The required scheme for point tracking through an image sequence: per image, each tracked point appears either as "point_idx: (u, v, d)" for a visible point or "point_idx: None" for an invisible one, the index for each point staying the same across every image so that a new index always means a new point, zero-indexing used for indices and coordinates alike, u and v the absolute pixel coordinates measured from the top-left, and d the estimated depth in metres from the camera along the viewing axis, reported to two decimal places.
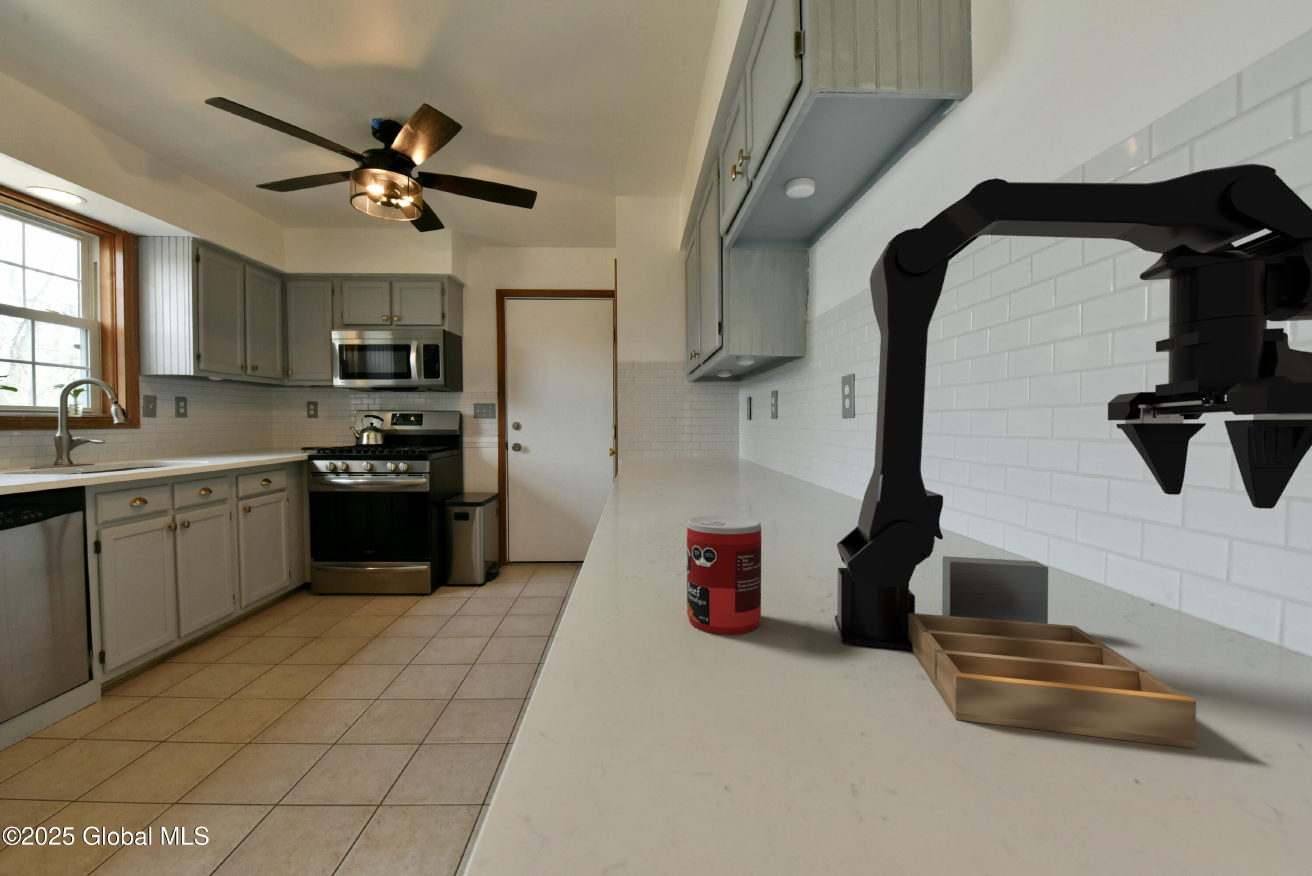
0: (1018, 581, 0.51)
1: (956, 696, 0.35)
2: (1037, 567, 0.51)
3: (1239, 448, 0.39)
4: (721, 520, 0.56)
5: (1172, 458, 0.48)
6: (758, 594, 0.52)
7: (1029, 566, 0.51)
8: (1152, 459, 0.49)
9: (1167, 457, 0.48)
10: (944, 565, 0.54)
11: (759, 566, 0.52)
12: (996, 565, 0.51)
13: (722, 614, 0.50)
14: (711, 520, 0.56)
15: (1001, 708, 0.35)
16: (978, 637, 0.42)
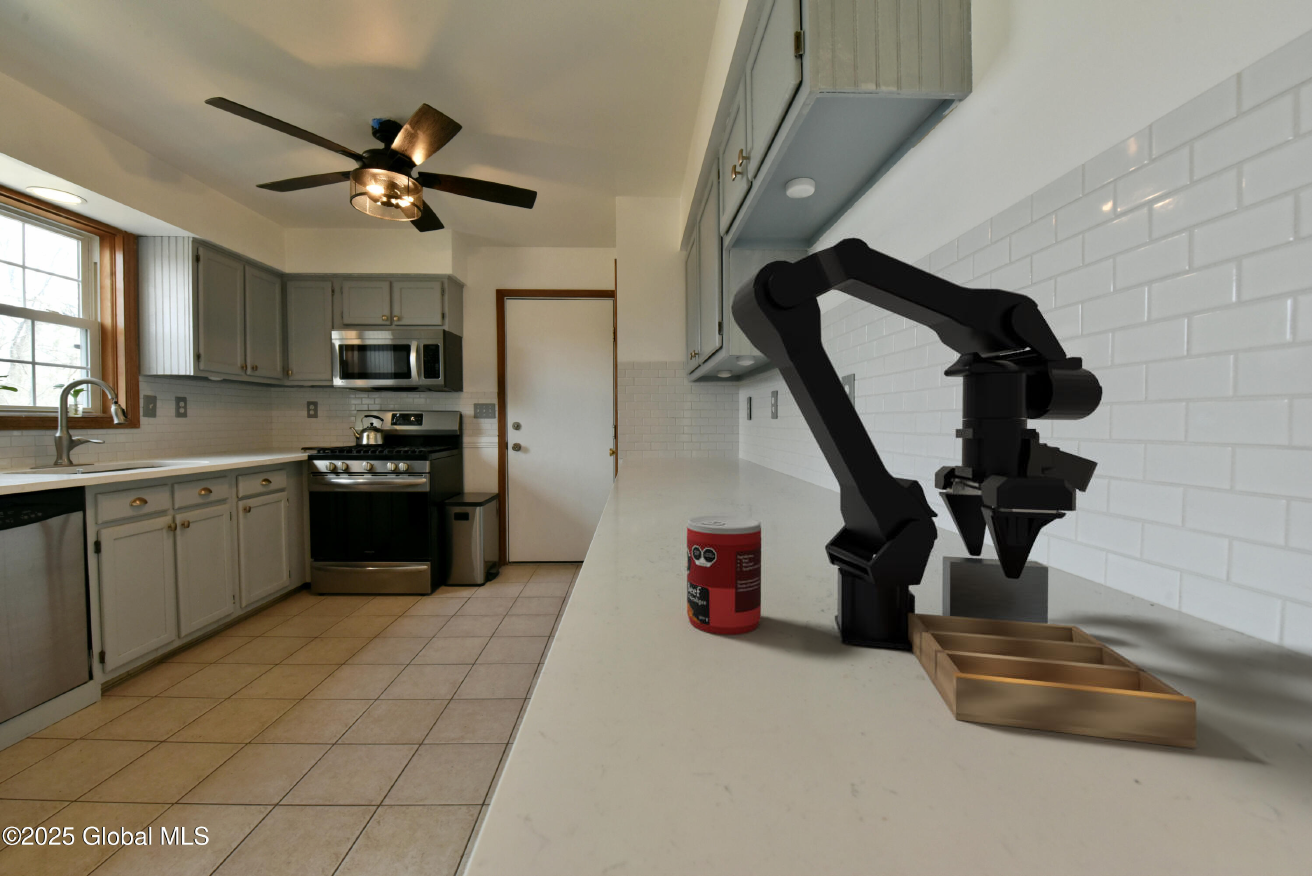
0: (1018, 581, 0.51)
1: (956, 696, 0.35)
2: (1037, 567, 0.51)
3: (990, 530, 0.48)
4: (721, 520, 0.56)
5: (975, 525, 0.57)
6: (758, 594, 0.52)
7: (1029, 567, 0.51)
8: (959, 525, 0.57)
9: (972, 523, 0.57)
10: (944, 565, 0.54)
11: (759, 566, 0.52)
12: (996, 565, 0.51)
13: (722, 614, 0.50)
14: (711, 520, 0.56)
15: (1001, 708, 0.35)
16: (978, 637, 0.42)
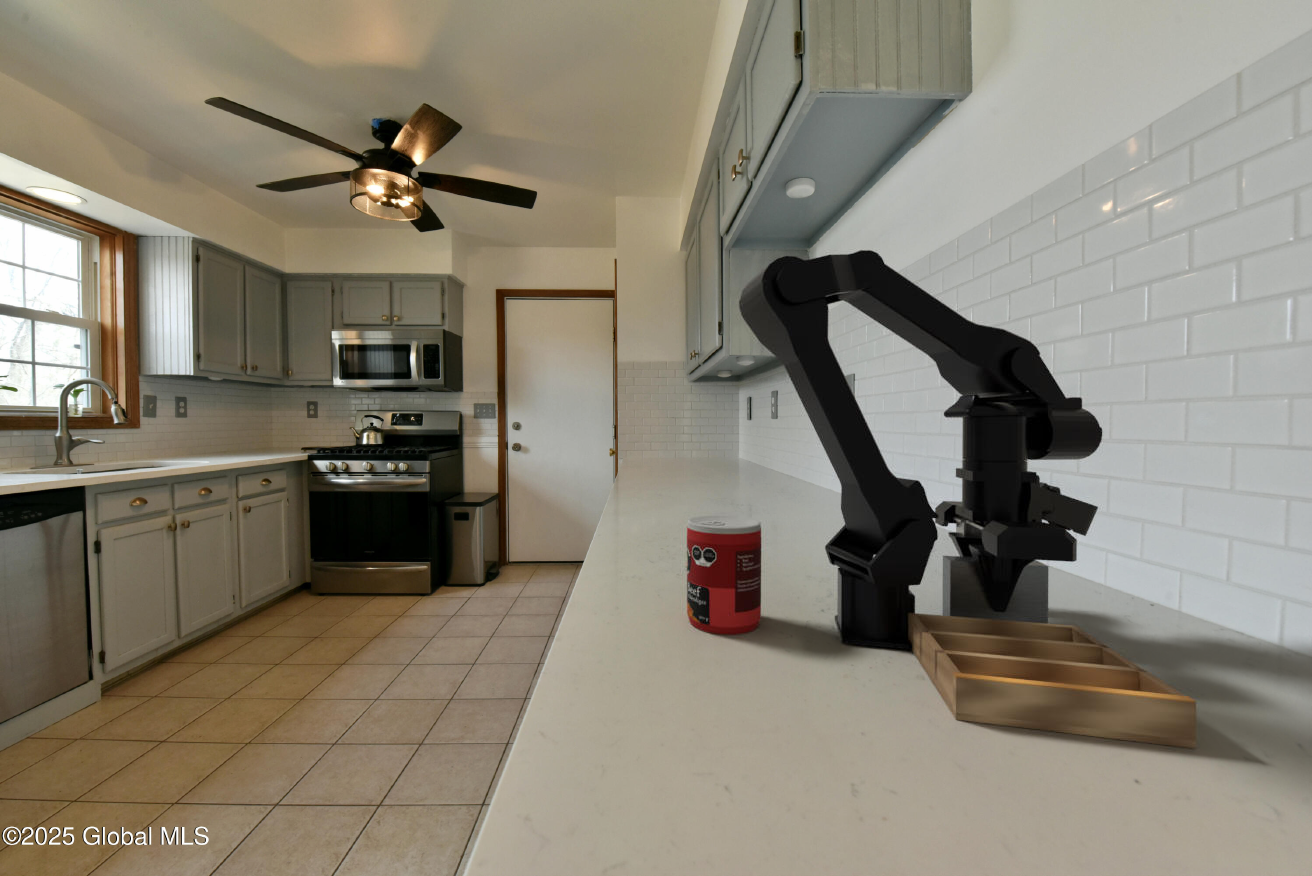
0: (1018, 580, 0.51)
1: (956, 696, 0.35)
2: (1037, 566, 0.51)
3: (978, 566, 0.51)
4: (721, 520, 0.56)
5: None
6: (758, 594, 0.52)
7: (1029, 566, 0.51)
8: None
9: None
10: (944, 565, 0.54)
11: (759, 566, 0.52)
12: None
13: (722, 614, 0.50)
14: (711, 520, 0.56)
15: (1001, 708, 0.35)
16: (978, 637, 0.42)
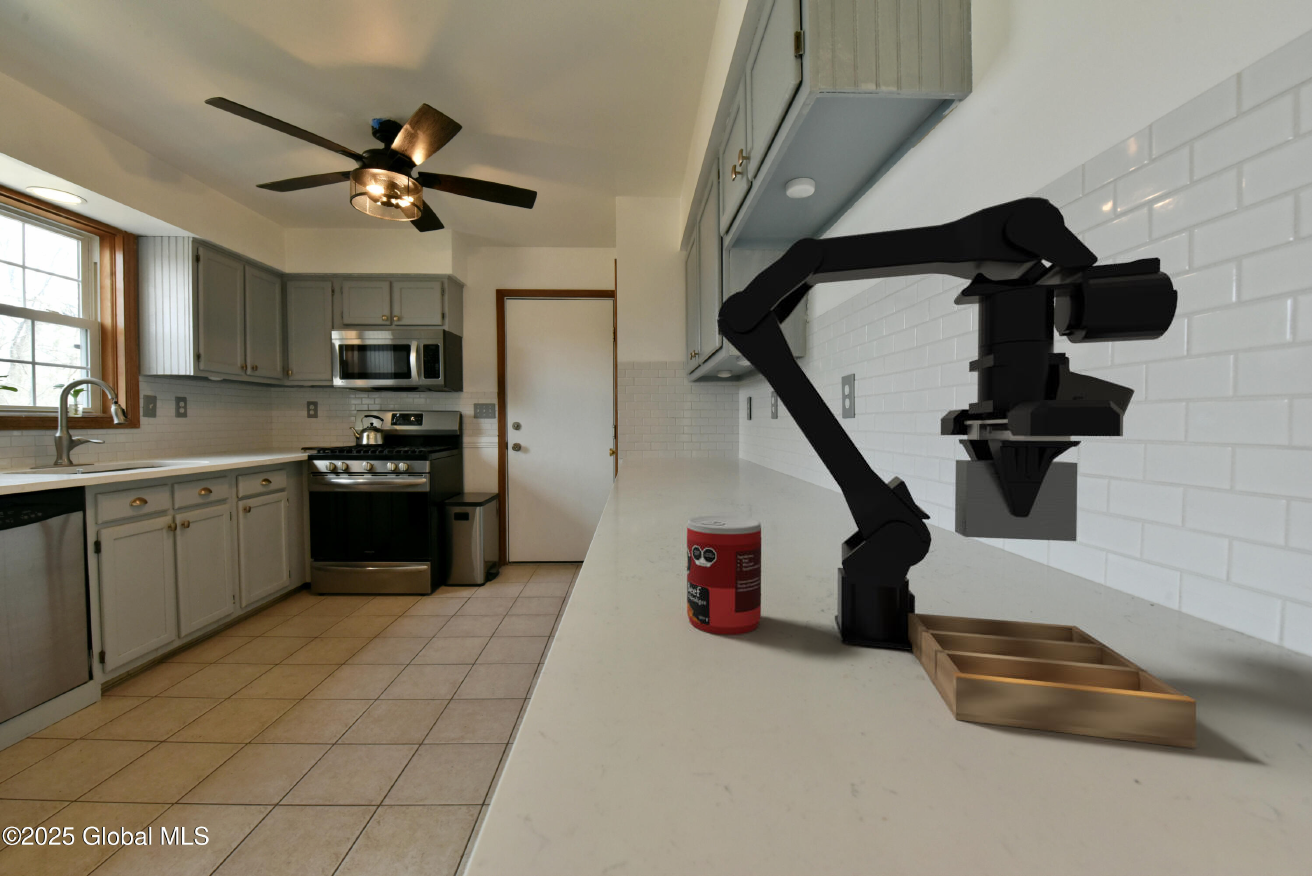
0: (1043, 480, 0.44)
1: (956, 696, 0.35)
2: (1065, 463, 0.44)
3: (998, 464, 0.44)
4: (721, 520, 0.56)
5: None
6: (758, 594, 0.52)
7: (1055, 463, 0.44)
8: None
9: None
10: (958, 469, 0.47)
11: (759, 566, 0.52)
12: None
13: (722, 614, 0.50)
14: (711, 520, 0.56)
15: (1001, 708, 0.35)
16: (978, 637, 0.42)
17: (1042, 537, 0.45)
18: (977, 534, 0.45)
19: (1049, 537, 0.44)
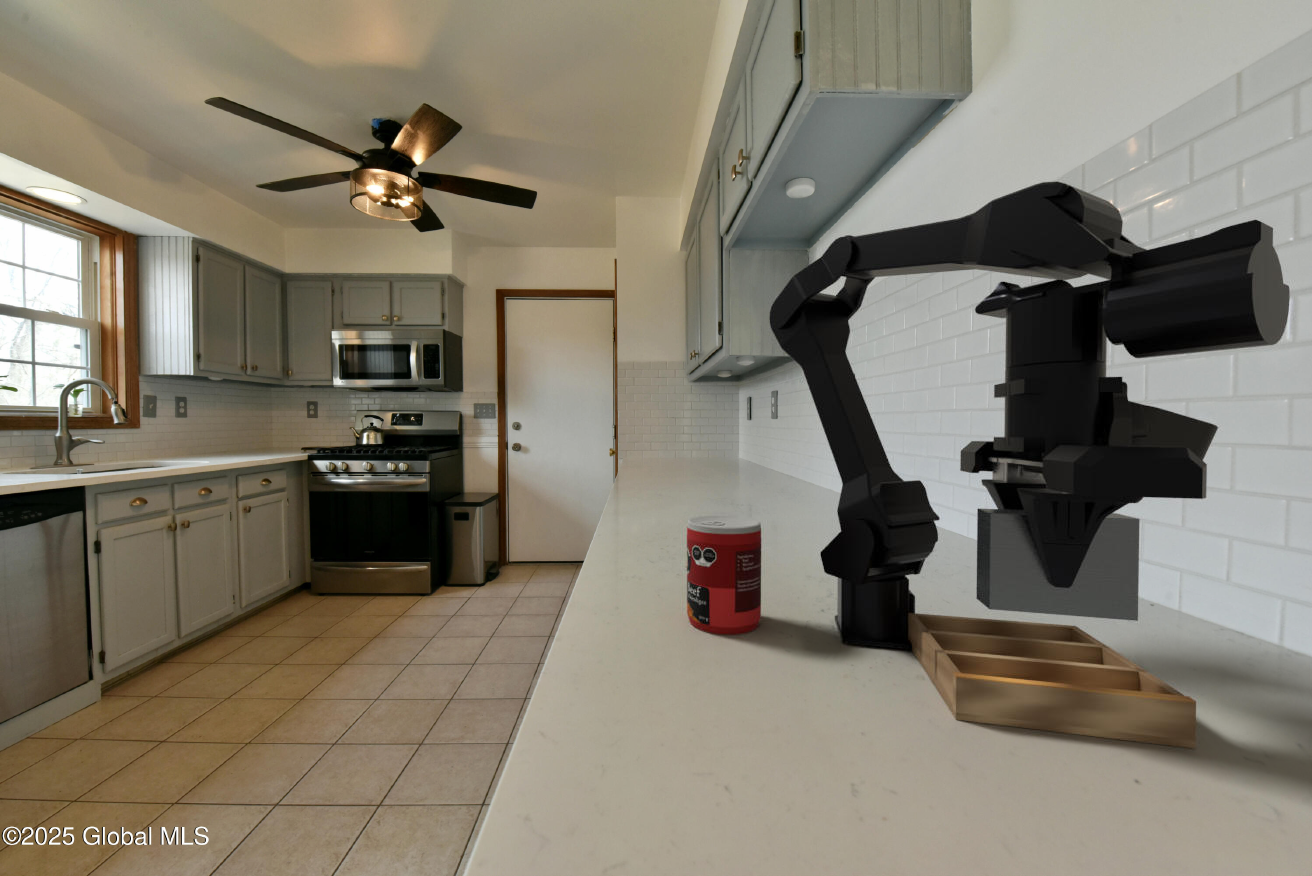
0: (1093, 540, 0.34)
1: (956, 696, 0.35)
2: (1122, 519, 0.34)
3: (1031, 520, 0.34)
4: (721, 520, 0.56)
5: None
6: (758, 594, 0.52)
7: (1110, 519, 0.34)
8: None
9: None
10: (980, 521, 0.38)
11: (759, 566, 0.52)
12: None
13: (722, 614, 0.50)
14: (711, 520, 0.56)
15: (1001, 708, 0.35)
16: (978, 637, 0.42)
17: (1091, 613, 0.34)
18: (1004, 606, 0.36)
19: (1101, 614, 0.34)
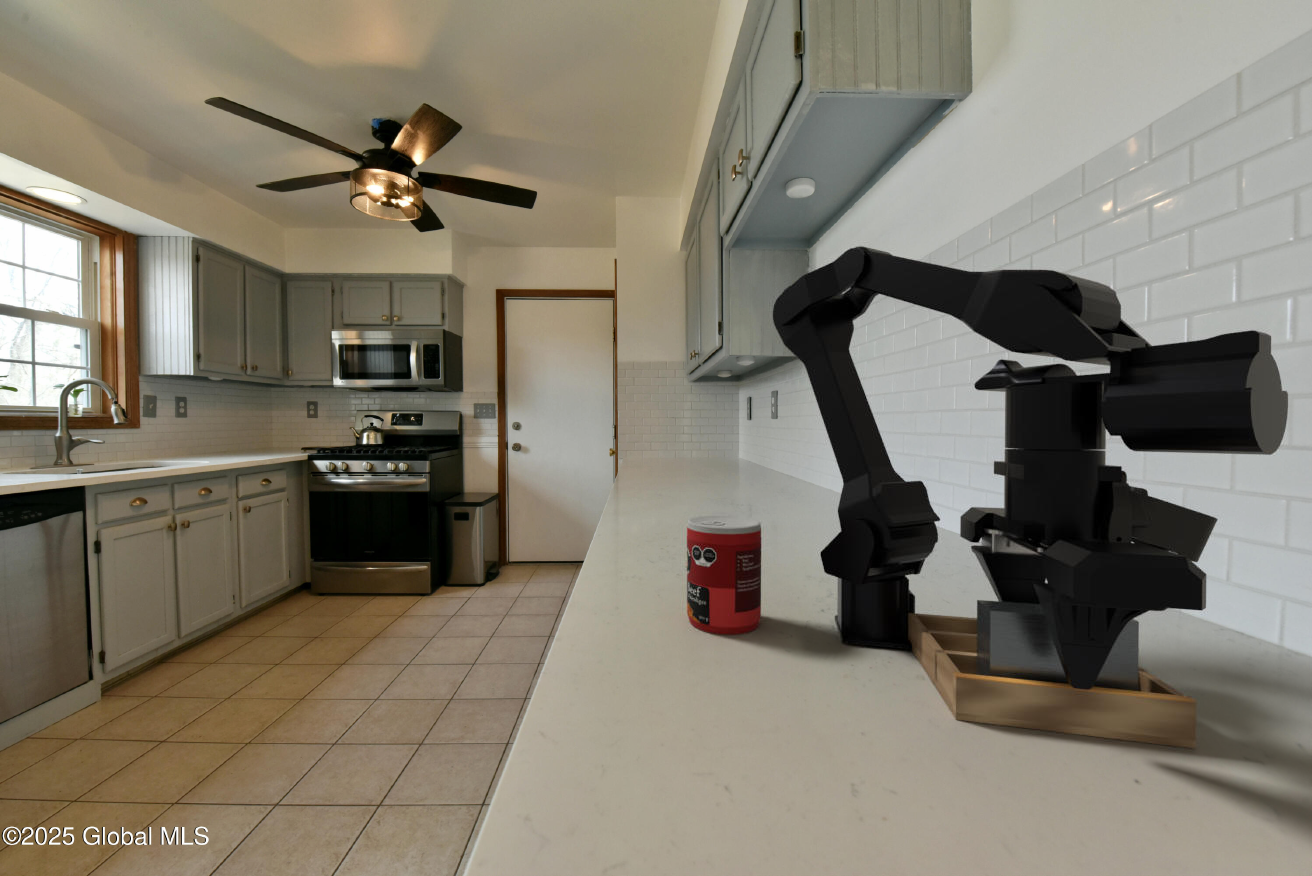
0: None
1: (956, 696, 0.35)
2: None
3: (1049, 618, 0.32)
4: (721, 520, 0.56)
5: (1026, 599, 0.40)
6: (758, 594, 0.52)
7: None
8: (1003, 599, 0.40)
9: (1021, 596, 0.40)
10: (980, 614, 0.38)
11: (759, 566, 0.52)
12: None
13: (722, 614, 0.50)
14: (711, 520, 0.56)
15: (1001, 708, 0.35)
16: None
17: None
18: None
19: None
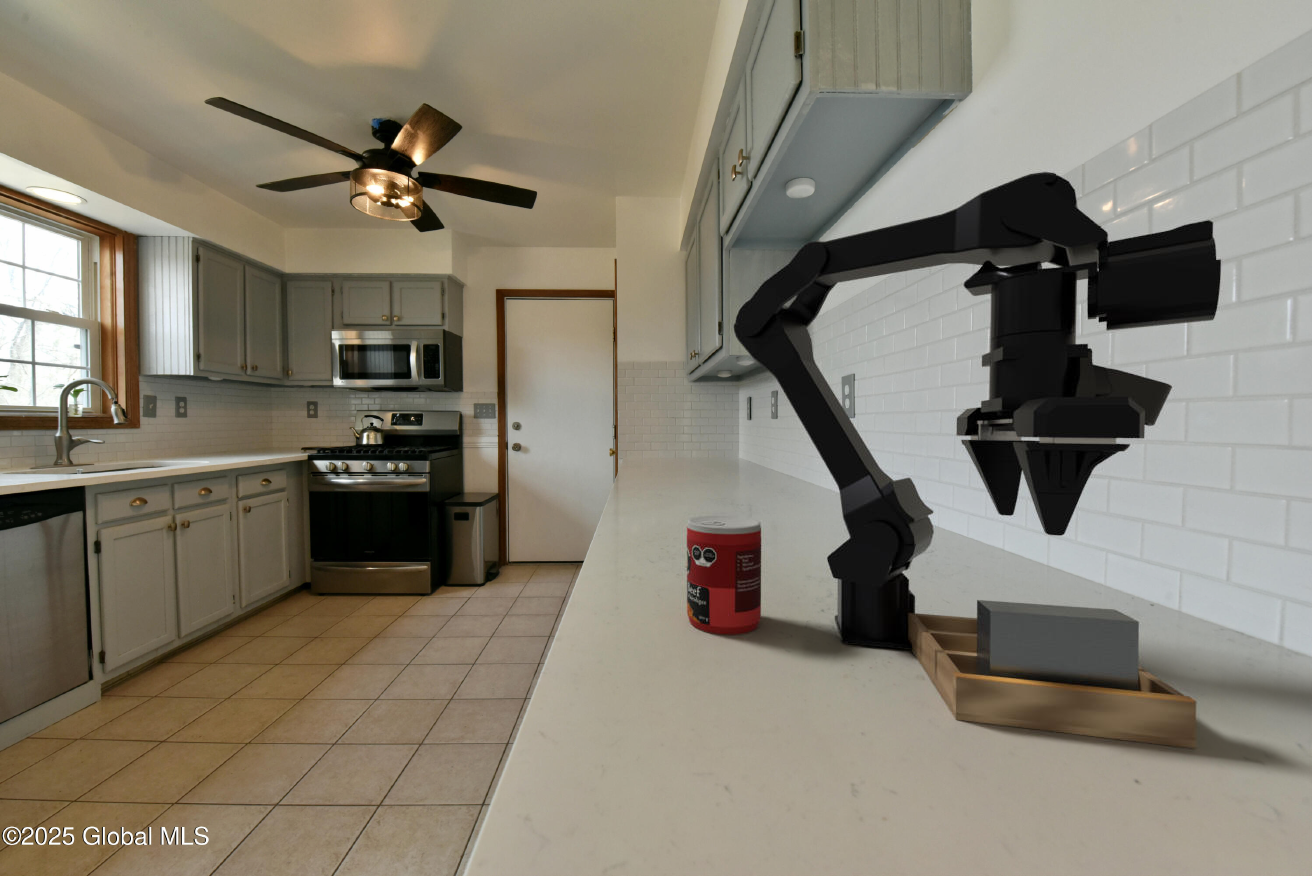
0: (1092, 641, 0.34)
1: (956, 696, 0.35)
2: (1122, 621, 0.34)
3: (1025, 471, 0.37)
4: (721, 520, 0.56)
5: (1006, 477, 0.46)
6: (758, 594, 0.52)
7: (1109, 620, 0.34)
8: (986, 478, 0.46)
9: (1002, 475, 0.46)
10: (980, 614, 0.38)
11: (759, 566, 0.52)
12: (1059, 617, 0.35)
13: (722, 614, 0.50)
14: (711, 520, 0.56)
15: (1001, 708, 0.35)
16: None
17: None
18: None
19: None
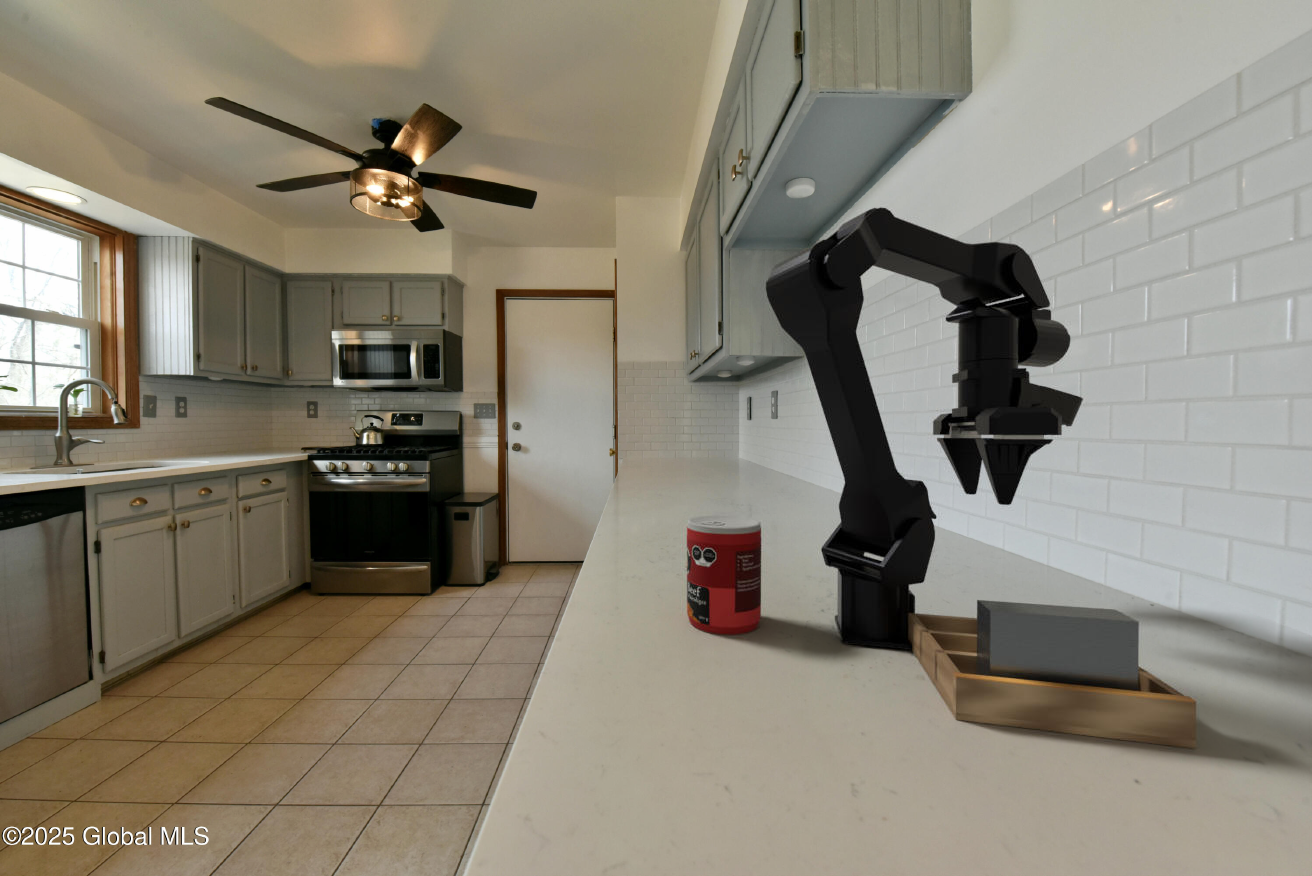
0: (1092, 641, 0.34)
1: (956, 696, 0.35)
2: (1122, 621, 0.34)
3: (984, 459, 0.52)
4: (721, 520, 0.56)
5: (971, 466, 0.61)
6: (758, 594, 0.52)
7: (1109, 620, 0.34)
8: (956, 466, 0.61)
9: (967, 464, 0.61)
10: (980, 614, 0.38)
11: (759, 566, 0.52)
12: (1059, 617, 0.35)
13: (722, 614, 0.50)
14: (711, 520, 0.56)
15: (1001, 708, 0.35)
16: None
17: None
18: None
19: None
